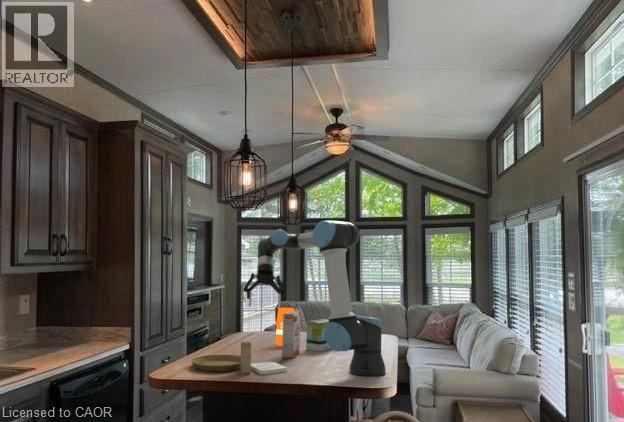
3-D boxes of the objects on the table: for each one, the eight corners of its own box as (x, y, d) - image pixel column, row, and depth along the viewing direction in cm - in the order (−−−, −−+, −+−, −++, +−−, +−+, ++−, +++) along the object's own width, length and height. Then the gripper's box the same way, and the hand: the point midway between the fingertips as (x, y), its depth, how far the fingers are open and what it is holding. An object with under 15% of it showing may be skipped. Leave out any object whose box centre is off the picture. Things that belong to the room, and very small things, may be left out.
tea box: (321, 352, 250) (321, 322, 251) (305, 349, 256) (306, 320, 257) (337, 347, 262) (338, 319, 263) (322, 345, 268) (322, 318, 269)
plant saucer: (211, 359, 230) (212, 352, 230) (257, 364, 221) (257, 356, 221) (179, 370, 208) (179, 362, 208) (228, 376, 199) (228, 367, 199)
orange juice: (291, 346, 265) (292, 308, 266) (275, 345, 266) (276, 308, 268) (294, 343, 272) (295, 307, 274) (279, 343, 274) (279, 306, 276)
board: (287, 371, 206) (287, 367, 206) (260, 374, 200) (261, 370, 200) (272, 365, 218) (272, 361, 218) (247, 367, 212) (247, 363, 212)
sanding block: (240, 370, 207) (241, 341, 208) (249, 370, 207) (250, 341, 208) (240, 374, 201) (241, 344, 202) (250, 373, 202) (251, 344, 203)
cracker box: (293, 358, 232) (294, 314, 234) (281, 358, 233) (282, 313, 235) (300, 353, 246) (301, 311, 248) (288, 352, 247) (289, 310, 249)
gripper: (288, 273, 244) (289, 311, 230) (238, 268, 239) (236, 307, 225) (291, 265, 239) (293, 304, 225) (240, 260, 233) (238, 299, 219)
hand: (264, 306), depth 225 cm, fingers open, 13 cm apart
